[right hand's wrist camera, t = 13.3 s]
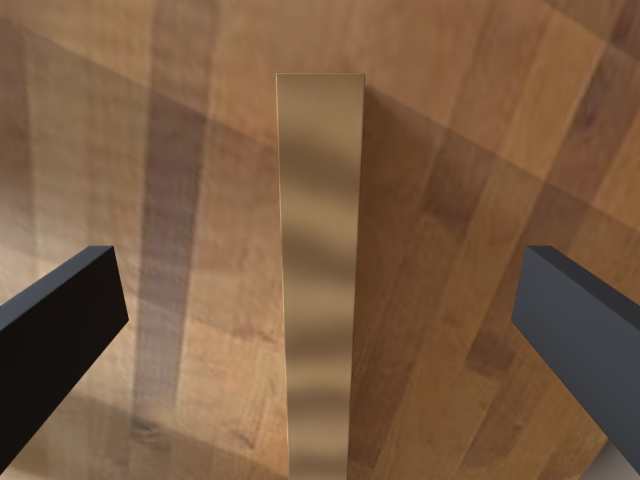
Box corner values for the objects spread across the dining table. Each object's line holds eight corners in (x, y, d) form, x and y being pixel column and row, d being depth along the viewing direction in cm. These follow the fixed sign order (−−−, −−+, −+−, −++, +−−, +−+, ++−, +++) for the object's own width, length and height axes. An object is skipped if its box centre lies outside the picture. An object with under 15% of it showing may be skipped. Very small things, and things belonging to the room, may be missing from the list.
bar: (285, 76, 31) (275, 72, 24) (354, 77, 31) (365, 73, 24) (297, 587, 56) (294, 660, 49) (336, 587, 56) (339, 660, 49)
